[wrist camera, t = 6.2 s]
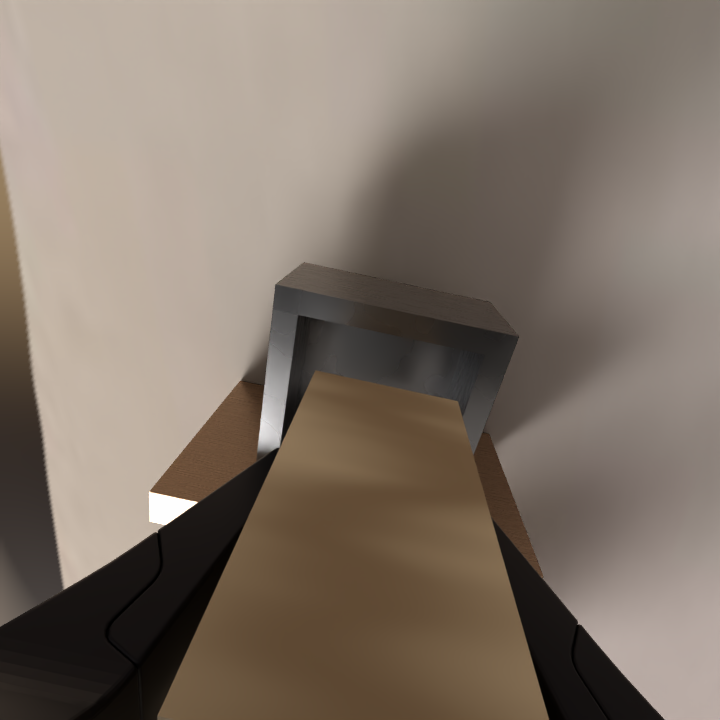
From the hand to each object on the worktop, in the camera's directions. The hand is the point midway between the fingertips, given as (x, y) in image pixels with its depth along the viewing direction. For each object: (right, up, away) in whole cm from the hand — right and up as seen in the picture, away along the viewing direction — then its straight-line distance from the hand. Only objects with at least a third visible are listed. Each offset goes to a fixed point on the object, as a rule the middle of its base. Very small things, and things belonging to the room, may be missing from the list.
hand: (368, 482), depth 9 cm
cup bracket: (0, +1, +9) cm, 10 cm away
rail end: (0, +1, +1) cm, 2 cm away
